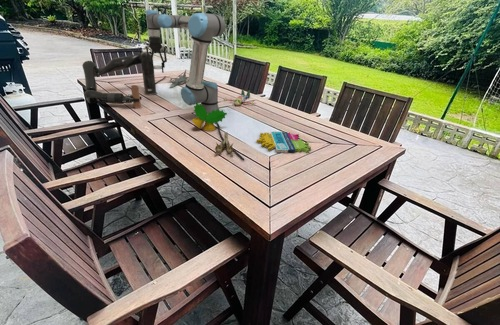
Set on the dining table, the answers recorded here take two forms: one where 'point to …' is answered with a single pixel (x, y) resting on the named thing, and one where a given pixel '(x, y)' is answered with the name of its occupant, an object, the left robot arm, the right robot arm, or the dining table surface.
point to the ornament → (207, 117)
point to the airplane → (179, 80)
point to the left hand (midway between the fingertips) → (140, 99)
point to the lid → (157, 67)
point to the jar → (136, 96)
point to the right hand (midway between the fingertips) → (158, 72)
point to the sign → (283, 142)
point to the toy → (241, 99)
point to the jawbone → (224, 145)
